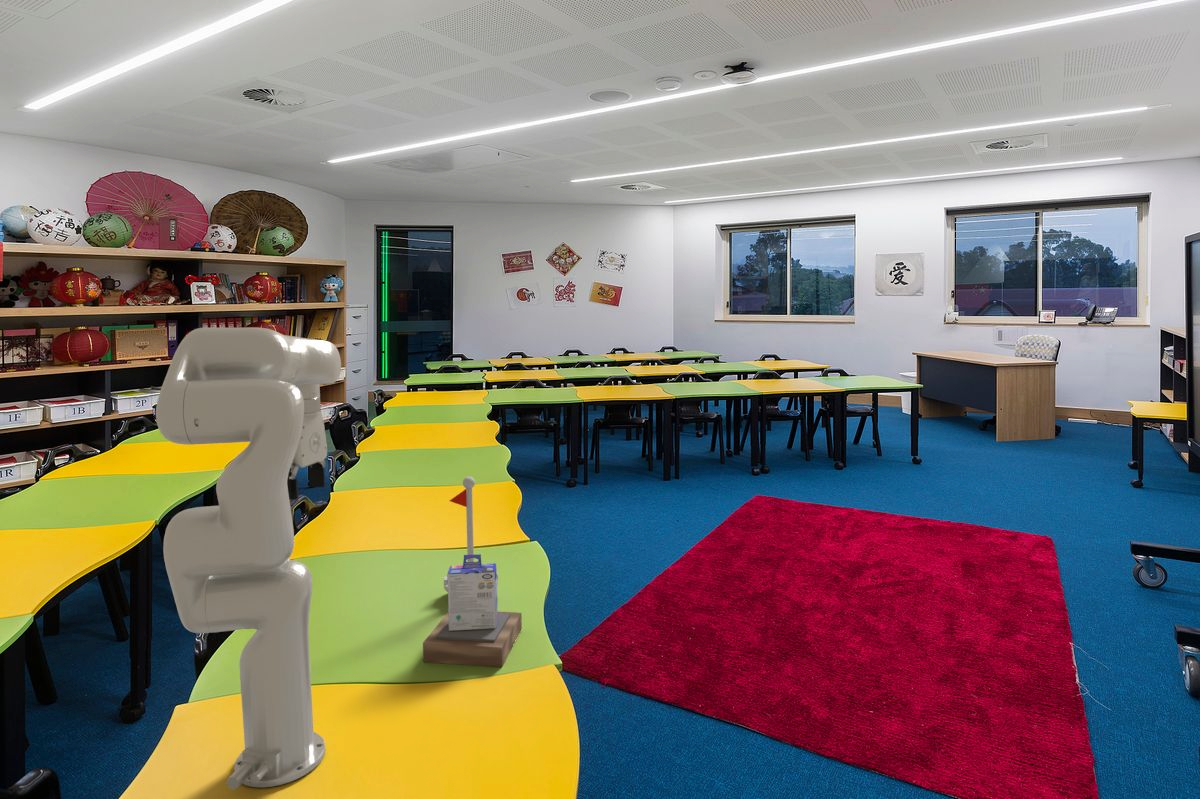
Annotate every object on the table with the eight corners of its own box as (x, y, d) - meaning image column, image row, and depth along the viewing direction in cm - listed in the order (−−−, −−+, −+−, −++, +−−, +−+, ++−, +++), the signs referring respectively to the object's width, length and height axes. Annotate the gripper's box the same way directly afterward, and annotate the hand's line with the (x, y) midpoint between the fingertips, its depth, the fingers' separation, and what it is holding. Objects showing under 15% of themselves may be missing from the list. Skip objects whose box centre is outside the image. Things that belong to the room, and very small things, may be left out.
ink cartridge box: (498, 617, 144) (496, 551, 142) (497, 629, 139) (496, 560, 137) (450, 620, 143) (448, 553, 141) (448, 632, 137) (446, 563, 136)
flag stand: (482, 582, 176) (480, 468, 172) (508, 598, 165) (506, 477, 162) (435, 594, 168) (431, 475, 164) (459, 612, 157) (455, 485, 154)
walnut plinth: (502, 667, 132) (501, 645, 132) (423, 661, 134) (422, 640, 134) (521, 630, 148) (521, 610, 148) (451, 626, 150) (450, 606, 150)
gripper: (292, 413, 124) (297, 505, 125) (340, 402, 141) (343, 483, 143) (254, 412, 124) (259, 503, 126) (306, 401, 142) (310, 482, 143)
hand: (304, 492), depth 134 cm, fingers open, 9 cm apart
